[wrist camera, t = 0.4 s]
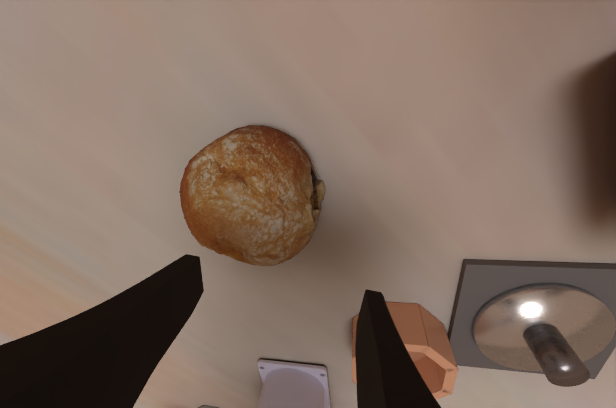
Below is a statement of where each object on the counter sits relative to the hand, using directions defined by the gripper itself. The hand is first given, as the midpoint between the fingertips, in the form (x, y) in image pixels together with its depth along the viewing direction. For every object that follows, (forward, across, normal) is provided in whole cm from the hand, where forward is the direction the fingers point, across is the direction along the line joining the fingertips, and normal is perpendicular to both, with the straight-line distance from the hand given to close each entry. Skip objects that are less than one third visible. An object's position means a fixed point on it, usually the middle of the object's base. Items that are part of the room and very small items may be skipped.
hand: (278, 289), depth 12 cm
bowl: (+10, -9, +13) cm, 19 cm away
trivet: (+10, -19, +8) cm, 23 cm away
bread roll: (+10, +4, +1) cm, 11 cm away
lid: (+9, -19, +8) cm, 23 cm away
